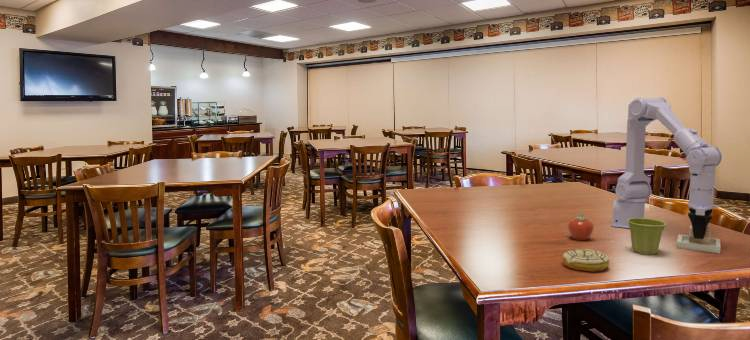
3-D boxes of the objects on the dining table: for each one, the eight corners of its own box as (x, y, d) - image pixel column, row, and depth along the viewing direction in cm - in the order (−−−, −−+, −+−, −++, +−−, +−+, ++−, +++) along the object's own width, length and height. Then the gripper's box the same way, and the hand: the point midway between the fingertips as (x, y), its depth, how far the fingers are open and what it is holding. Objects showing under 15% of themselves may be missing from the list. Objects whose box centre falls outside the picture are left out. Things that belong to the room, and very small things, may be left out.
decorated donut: (561, 259, 123) (561, 245, 122) (605, 262, 119) (605, 248, 119) (564, 271, 113) (564, 256, 113) (612, 275, 110) (612, 260, 109)
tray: (676, 247, 130) (676, 241, 130) (678, 240, 138) (678, 234, 138) (720, 253, 125) (720, 247, 124) (719, 244, 133) (719, 238, 132)
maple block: (688, 245, 131) (689, 228, 130) (689, 241, 135) (690, 224, 134) (710, 247, 128) (711, 230, 127) (709, 243, 132) (711, 226, 131)
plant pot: (659, 248, 130) (661, 218, 129) (668, 258, 121) (670, 226, 120) (623, 246, 133) (624, 217, 132) (629, 255, 124) (630, 224, 123)
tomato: (570, 234, 147) (571, 210, 146) (595, 237, 143) (596, 212, 142) (564, 239, 141) (565, 214, 140) (590, 243, 137) (591, 217, 136)
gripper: (719, 193, 121) (716, 243, 123) (718, 186, 133) (715, 232, 135) (687, 191, 126) (685, 239, 127) (689, 185, 137) (687, 229, 139)
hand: (698, 235), depth 131 cm, fingers open, 7 cm apart
